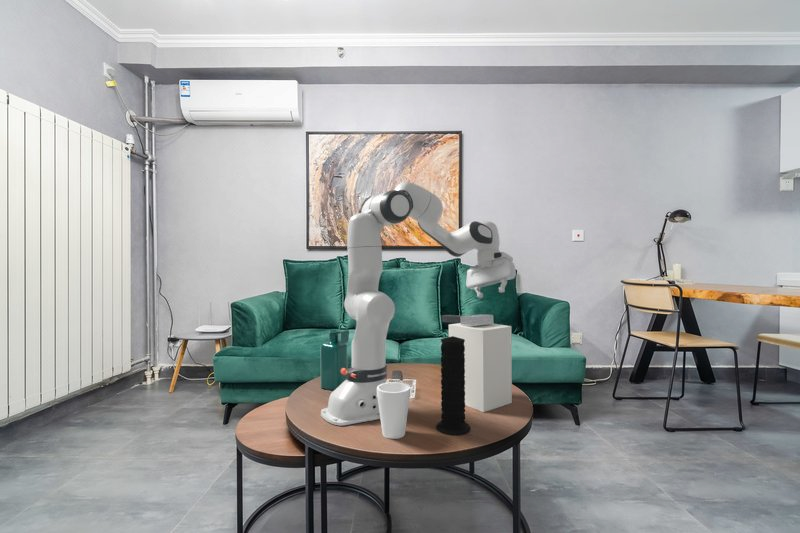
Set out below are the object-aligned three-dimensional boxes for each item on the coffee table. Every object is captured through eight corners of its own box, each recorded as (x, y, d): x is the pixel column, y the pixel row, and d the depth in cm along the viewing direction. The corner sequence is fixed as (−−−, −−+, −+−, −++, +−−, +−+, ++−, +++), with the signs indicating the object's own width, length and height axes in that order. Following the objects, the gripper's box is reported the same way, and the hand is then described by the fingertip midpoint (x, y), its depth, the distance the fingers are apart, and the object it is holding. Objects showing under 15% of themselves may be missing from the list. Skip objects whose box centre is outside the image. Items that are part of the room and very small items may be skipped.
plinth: (483, 412, 125) (483, 330, 125) (448, 398, 138) (448, 324, 138) (511, 402, 134) (511, 326, 133) (476, 390, 146) (476, 321, 146)
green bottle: (318, 388, 151) (318, 330, 151) (331, 382, 158) (331, 327, 158) (339, 391, 146) (338, 332, 146) (352, 385, 154) (351, 329, 154)
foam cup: (379, 442, 104) (379, 393, 104) (374, 428, 113) (374, 383, 113) (414, 439, 106) (414, 391, 106) (406, 425, 115) (406, 381, 115)
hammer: (473, 326, 131) (472, 317, 131) (434, 323, 147) (433, 315, 148) (493, 323, 137) (493, 314, 137) (453, 321, 153) (453, 313, 153)
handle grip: (429, 424, 116) (446, 438, 107) (429, 334, 116) (446, 340, 107) (458, 418, 120) (477, 431, 111) (458, 332, 120) (477, 337, 111)
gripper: (462, 265, 158) (463, 298, 152) (507, 250, 144) (510, 286, 138) (471, 270, 162) (472, 302, 156) (516, 256, 148) (519, 291, 142)
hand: (490, 294), depth 147 cm, fingers open, 8 cm apart
